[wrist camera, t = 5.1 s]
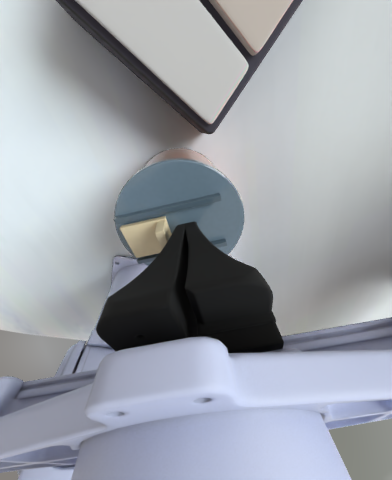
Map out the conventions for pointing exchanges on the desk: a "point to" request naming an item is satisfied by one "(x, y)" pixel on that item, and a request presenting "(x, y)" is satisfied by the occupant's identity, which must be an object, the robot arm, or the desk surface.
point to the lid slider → (147, 236)
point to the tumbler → (182, 198)
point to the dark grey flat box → (188, 46)
